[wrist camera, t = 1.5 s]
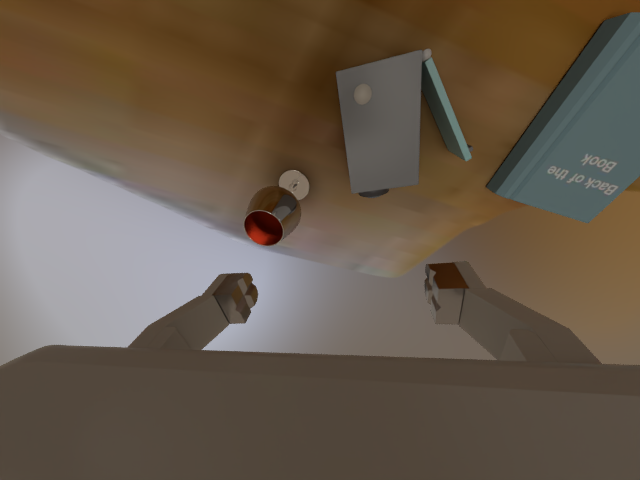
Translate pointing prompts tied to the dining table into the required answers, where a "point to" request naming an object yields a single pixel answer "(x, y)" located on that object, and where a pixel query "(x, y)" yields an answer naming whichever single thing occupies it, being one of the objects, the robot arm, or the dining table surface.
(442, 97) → the side door
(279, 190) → the wineglass
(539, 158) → the book
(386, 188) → the housing
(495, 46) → the dining table surface
